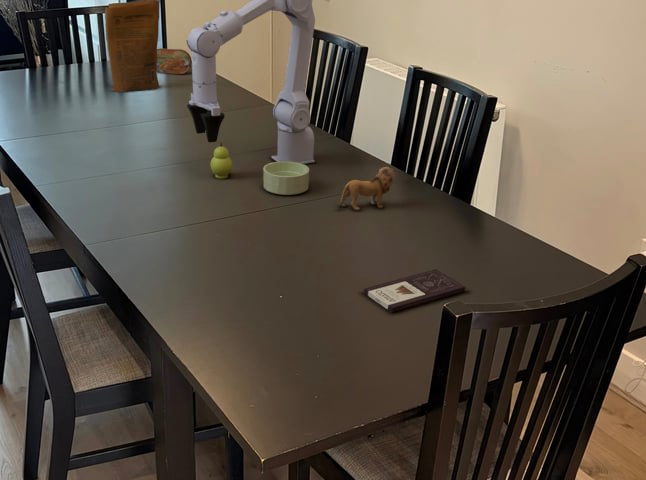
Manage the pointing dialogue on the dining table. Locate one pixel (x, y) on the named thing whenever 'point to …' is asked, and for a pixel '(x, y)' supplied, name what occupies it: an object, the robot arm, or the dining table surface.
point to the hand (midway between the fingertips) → (206, 137)
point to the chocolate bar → (414, 290)
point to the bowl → (286, 177)
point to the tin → (173, 61)
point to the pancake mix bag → (133, 44)
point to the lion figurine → (369, 188)
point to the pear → (221, 162)
